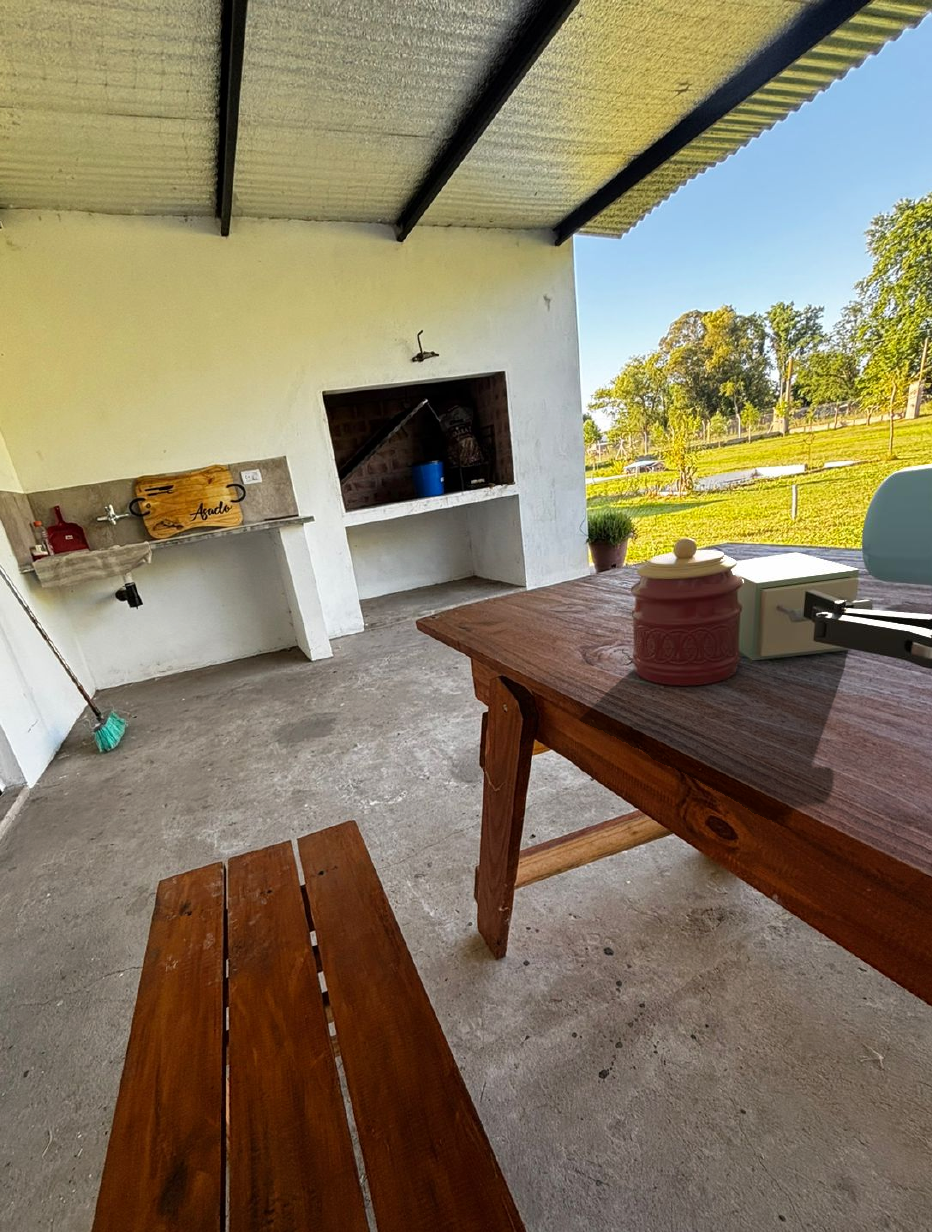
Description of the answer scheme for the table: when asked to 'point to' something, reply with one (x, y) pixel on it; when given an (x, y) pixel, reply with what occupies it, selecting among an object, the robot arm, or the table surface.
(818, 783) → the table surface
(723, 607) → the kitchen canister
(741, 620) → the small drawer unit
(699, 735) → the table surface
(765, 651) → the sliding drawer
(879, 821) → the table surface
